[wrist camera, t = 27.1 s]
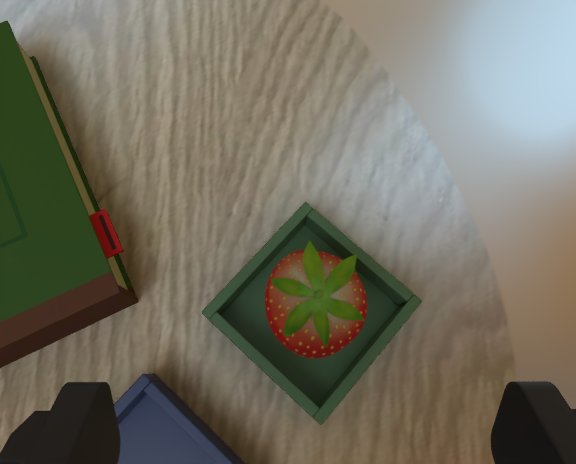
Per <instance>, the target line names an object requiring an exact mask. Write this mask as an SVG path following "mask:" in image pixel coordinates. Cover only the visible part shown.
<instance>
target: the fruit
mask: <svg viewBox="0 0 576 464" xmlns="http://www.w3.org/2000/svg"><path fill="white" fill-rule="evenodd" d="M357 255H358V254H355V255H353V256H350V257H348V258H346V259H344V260H341V259H340V258H338V257H336V256H334V255H331V254H329V253H325V252H321V251H316V249H315V248H314V246H313V245H312V243H311V241H310V240H309V242H308V244H307V246H306V248H305V250H298V251H296V252H293V253H291V254H289V255H287V256H286V257H284V258H283V259H282V260H281V261H280V262H279V263H278V264H277V265H276V266H275V267H274V269H273V271H272V273H271V274H270V276H269V279H268V282H267V285H266V292H265V309H266V316H267V320H268V323H269V327H270V328H271V330H272V332H273V334H274V336H275V337H276V338H277V339H278V340H279V341H280V343H281V344H283V345H284V346H285V347H286V348H288V349H289V350H290V351H292V352H294V353H296V354H298V355H300V356H303V357H307V358H310V359H314V358H324V357H327V356H331V355H333V354H335V353H337V352H338V351H340V350H342V349H343V348H345V347H346V346H347V345H348V344H349V343H351V342H352V341H353V339H354V338H355V337H356V336H357V335H358V334H359V333H360V331H361V329H362V328H363V326H364V323H365V320H366V316H367V296H366V292H365V289H364V286H363V284H362V282H361V280H360V278H359V276H358V275H357V274H356V272H355V271H354V270H355V265H356V260H357Z"/></svg>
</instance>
